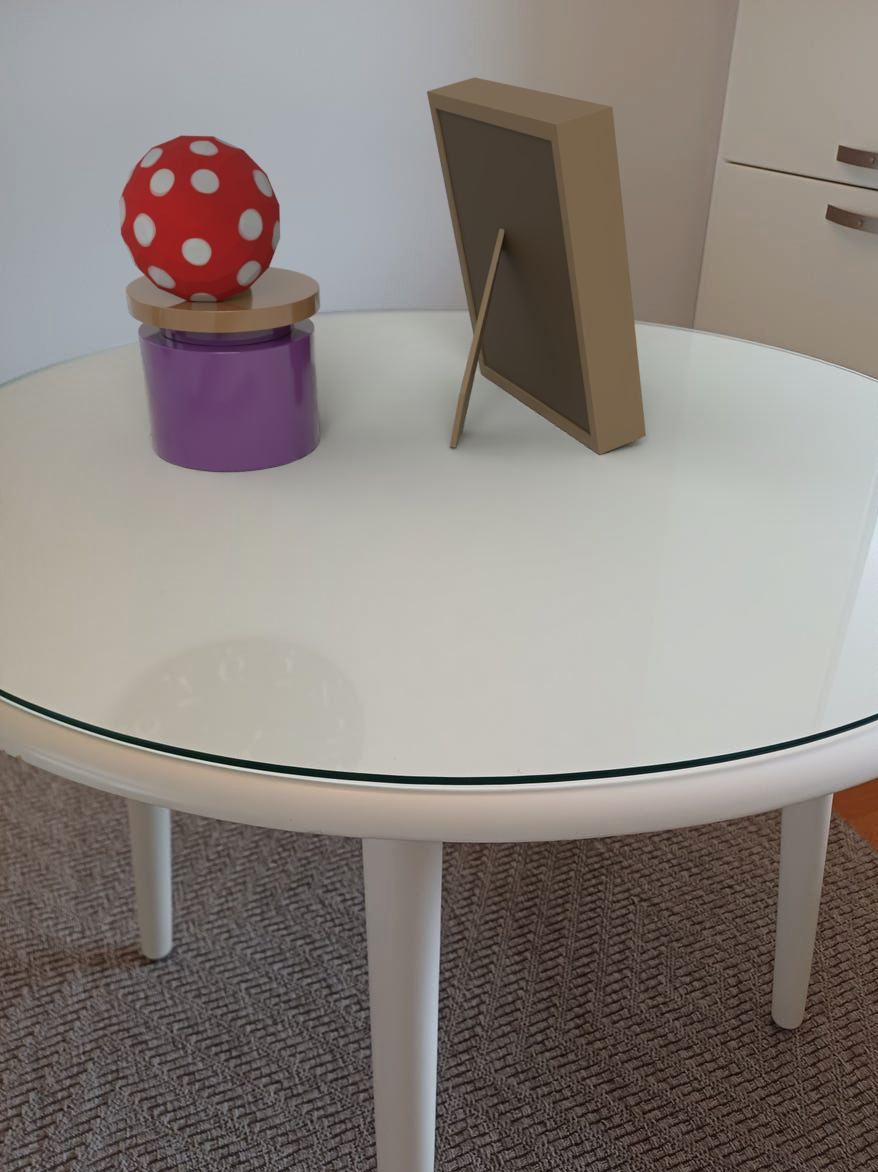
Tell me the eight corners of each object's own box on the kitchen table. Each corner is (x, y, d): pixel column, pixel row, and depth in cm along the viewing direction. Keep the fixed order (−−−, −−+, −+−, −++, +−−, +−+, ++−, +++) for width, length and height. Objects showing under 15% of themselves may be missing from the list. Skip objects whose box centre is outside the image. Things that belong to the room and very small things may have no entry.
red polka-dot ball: (200, 140, 87) (160, 80, 72) (322, 226, 89) (307, 185, 74) (124, 263, 88) (70, 229, 73) (246, 346, 90) (217, 329, 75)
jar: (112, 462, 84) (88, 301, 78) (193, 403, 96) (178, 258, 90) (288, 483, 82) (278, 318, 76) (349, 420, 94) (344, 272, 88)
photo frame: (521, 369, 107) (535, 76, 94) (644, 447, 90) (682, 105, 78) (375, 386, 101) (369, 78, 89) (478, 473, 85) (489, 109, 72)
